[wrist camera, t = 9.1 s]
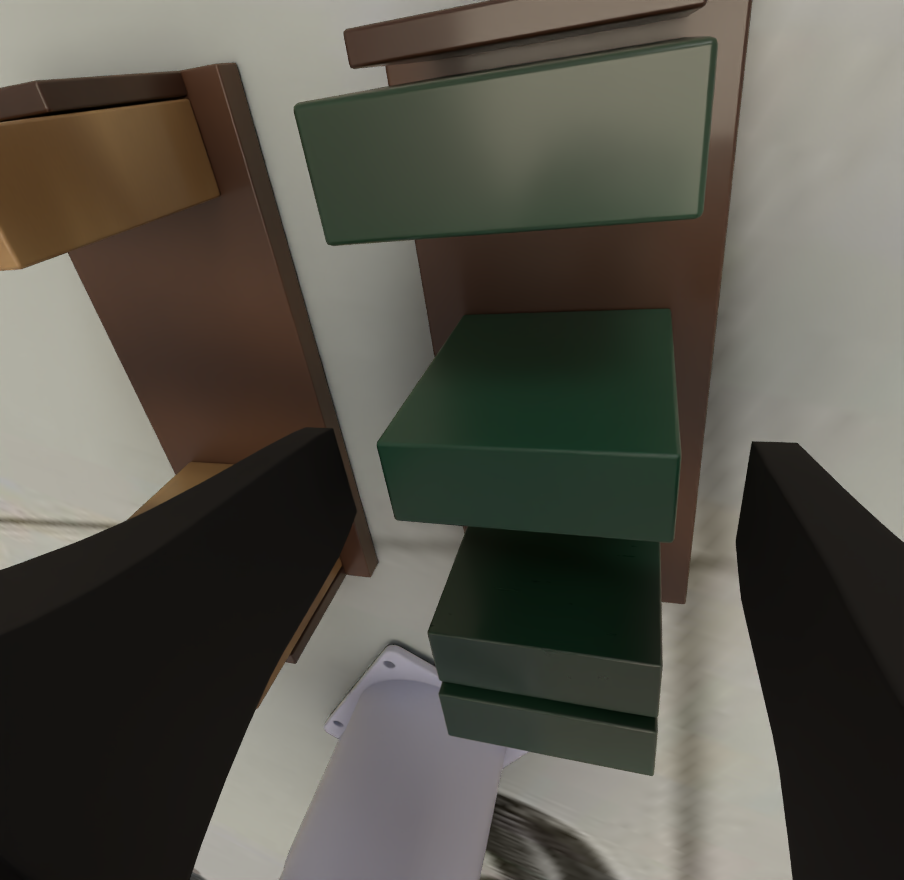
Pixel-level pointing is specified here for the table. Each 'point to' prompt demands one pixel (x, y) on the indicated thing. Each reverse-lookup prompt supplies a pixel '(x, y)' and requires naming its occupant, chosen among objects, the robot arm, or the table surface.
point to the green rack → (551, 301)
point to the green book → (543, 427)
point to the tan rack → (176, 267)
